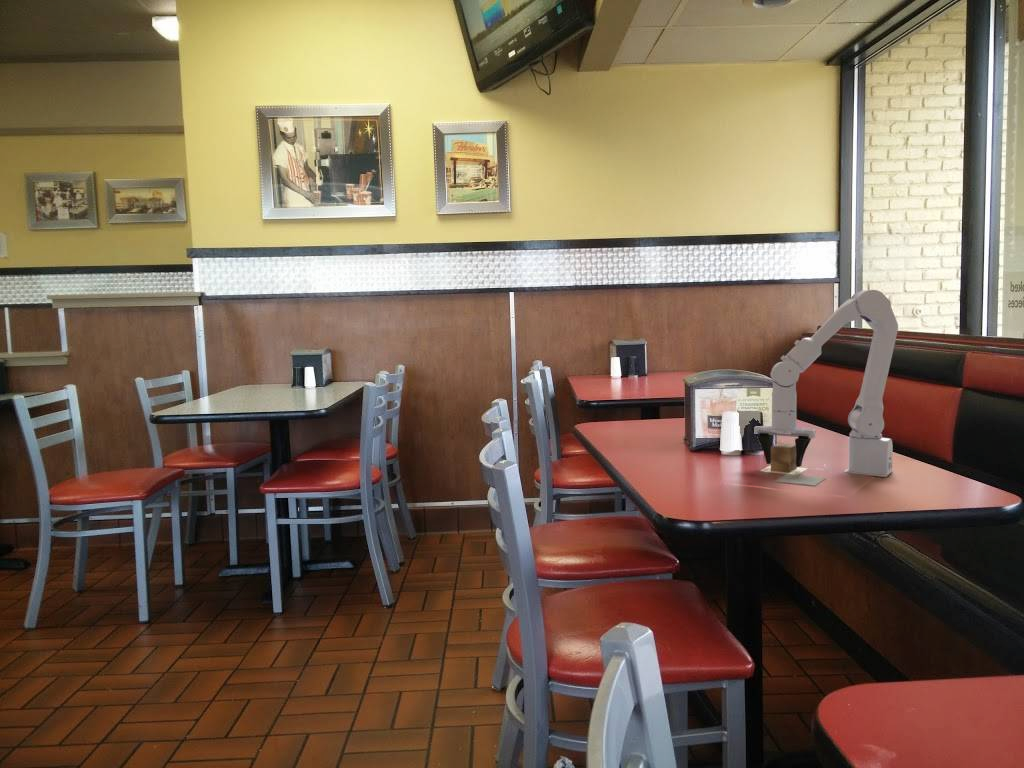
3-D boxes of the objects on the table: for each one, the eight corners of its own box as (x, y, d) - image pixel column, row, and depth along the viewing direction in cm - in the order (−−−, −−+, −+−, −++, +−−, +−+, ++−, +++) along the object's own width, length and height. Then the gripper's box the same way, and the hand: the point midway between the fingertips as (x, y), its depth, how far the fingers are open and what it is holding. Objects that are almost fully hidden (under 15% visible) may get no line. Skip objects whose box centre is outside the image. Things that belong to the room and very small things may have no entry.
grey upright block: (757, 449, 221) (757, 408, 219) (760, 452, 216) (761, 410, 215) (736, 450, 221) (735, 408, 220) (738, 452, 217) (738, 410, 216)
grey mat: (825, 480, 180) (825, 477, 180) (814, 488, 173) (814, 485, 173) (786, 476, 185) (786, 473, 185) (774, 483, 178) (774, 480, 178)
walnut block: (796, 468, 192) (796, 444, 191) (789, 472, 187) (789, 448, 187) (778, 466, 195) (778, 443, 194) (770, 470, 190) (770, 446, 189)
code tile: (807, 469, 192) (807, 468, 192) (796, 476, 185) (796, 474, 185) (771, 466, 197) (771, 464, 197) (759, 472, 190) (759, 471, 190)
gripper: (749, 410, 191) (749, 464, 192) (809, 414, 182) (809, 470, 183) (759, 407, 196) (759, 460, 198) (818, 410, 188) (817, 465, 189)
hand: (783, 464), depth 191 cm, fingers open, 7 cm apart
